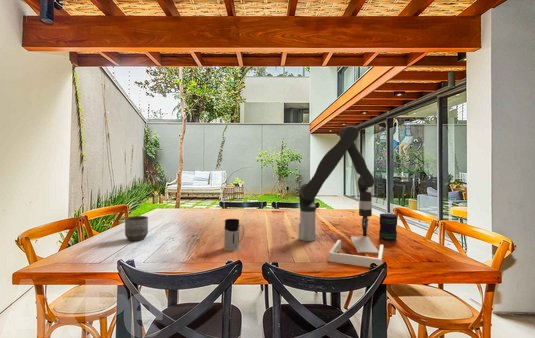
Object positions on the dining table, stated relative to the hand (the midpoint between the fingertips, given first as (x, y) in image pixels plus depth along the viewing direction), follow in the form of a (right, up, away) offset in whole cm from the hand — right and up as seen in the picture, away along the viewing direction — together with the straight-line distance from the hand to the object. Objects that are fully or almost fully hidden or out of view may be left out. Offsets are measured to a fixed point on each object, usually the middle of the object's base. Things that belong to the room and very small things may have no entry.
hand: (364, 236), depth 182 cm
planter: (-136, 0, -11) cm, 137 cm away
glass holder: (-77, -1, -27) cm, 82 cm away
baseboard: (-7, -2, -17) cm, 18 cm away
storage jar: (+13, -1, -4) cm, 13 cm away
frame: (-16, -2, -37) cm, 41 cm away
